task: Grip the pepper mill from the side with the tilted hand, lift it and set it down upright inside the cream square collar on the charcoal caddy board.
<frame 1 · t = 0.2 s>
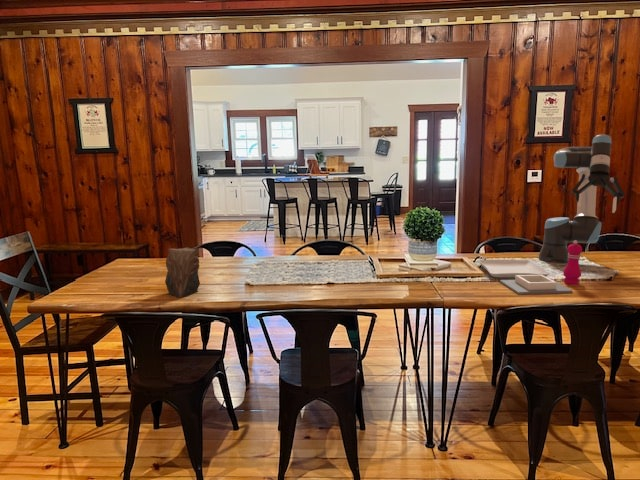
hand: (596, 209, 201), 35 cm above the table, tool tilted 30°, fingers open, 13 cm apart
pepper mill: (571, 283, 212), on the table
square plate: (511, 273, 231), on the table
caddy: (534, 287, 206), on the table
owl: (182, 294, 203), on the table
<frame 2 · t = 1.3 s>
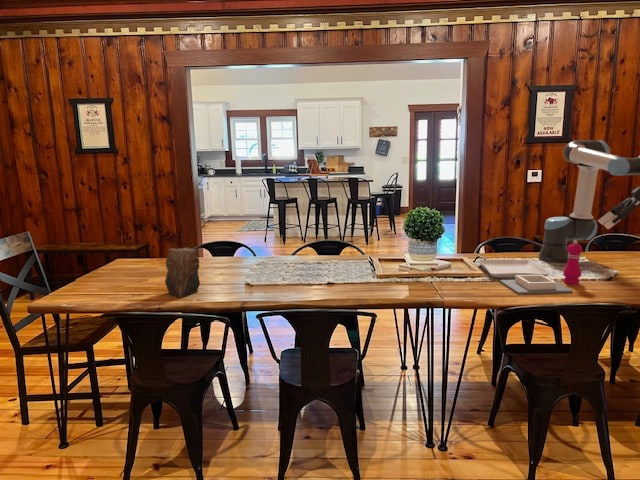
hand: (602, 225, 209), 27 cm above the table, tool tilted 45°, fingers open, 13 cm apart
nothing on the table moved.
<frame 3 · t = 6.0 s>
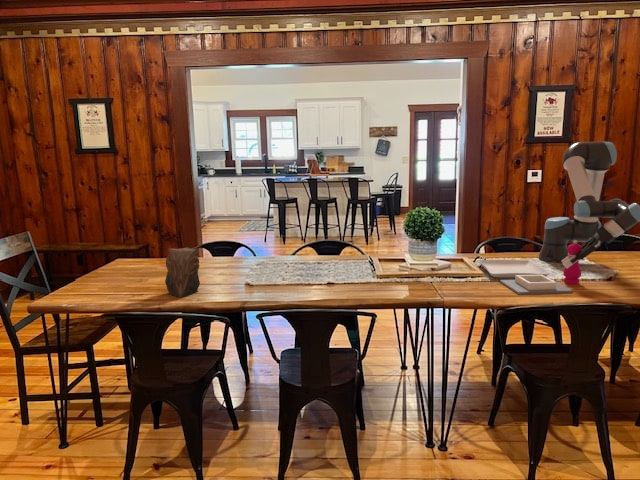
hand: (563, 264, 212), 8 cm above the table, tool tilted 45°, fingers closed on pepper mill, 5 cm apart
pepper mill: (571, 283, 212), on the table, touching gripper
everything else where it was.
when the fingers open (11 cm above the table, at t = 13.1 s): pepper mill drops 1 cm, resting on caddy.
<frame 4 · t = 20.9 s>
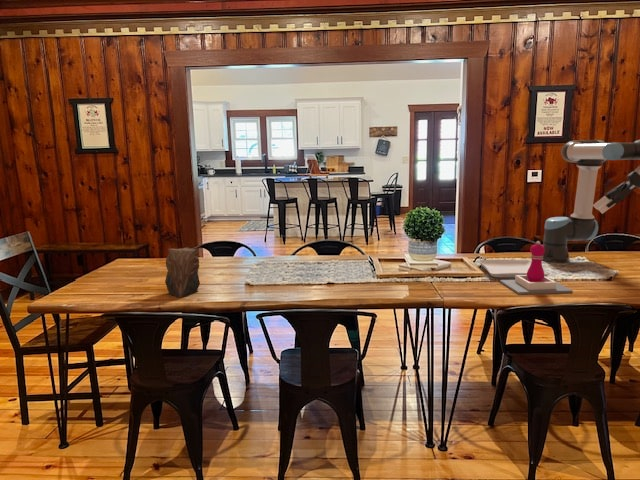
hand: (597, 209, 208), 34 cm above the table, tool tilted 45°, fingers open, 13 cm apart
pepper mill: (534, 284, 207), point 1 cm above the table, touching caddy
everything else where it was.
at the end: pepper mill 1.3 cm off-centre on the caddy, point 0.8 cm above the caddy's base; pepper mill tilted 0°; the gripper is holding nothing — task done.
